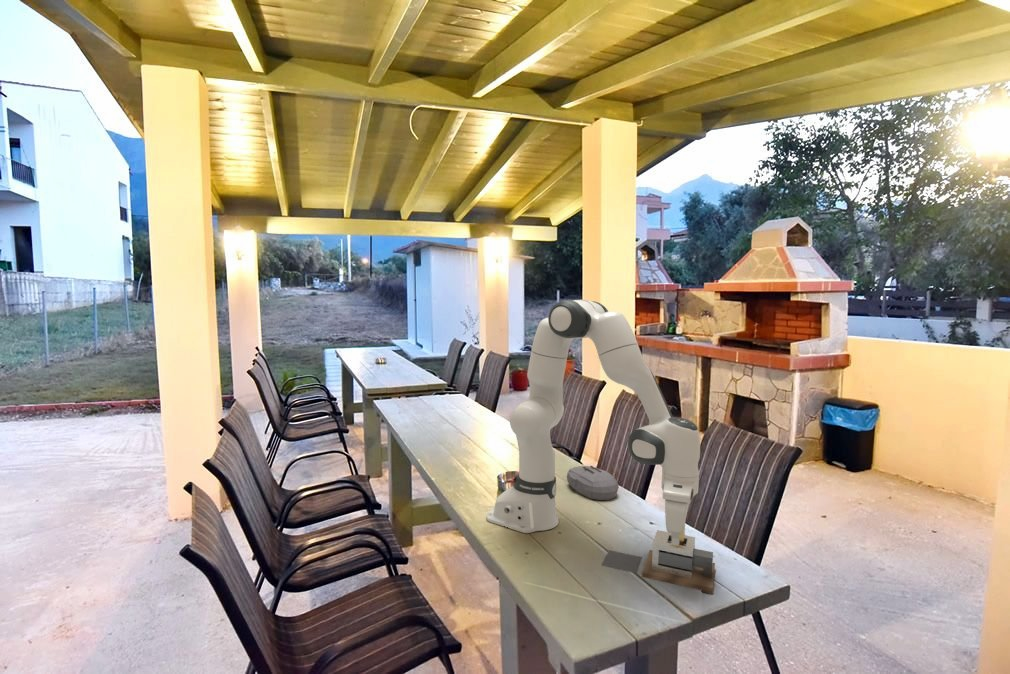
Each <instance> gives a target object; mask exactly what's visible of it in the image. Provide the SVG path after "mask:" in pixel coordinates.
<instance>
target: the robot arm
mask: <svg viewBox="0 0 1010 674" xmlns="http://www.w3.org/2000/svg"><path fill="white" fill-rule="evenodd" d="M585 338H589V339H590V340H591V341H592V343H593V344H594V346H595V349H596V353H597V354H598V359H599V362H600V365H601V368H602V370H603V373H604V374H605V375H606V377H607V378H608V379H609V380H611V381H612V382H614V383H616V384H619V385H622V386H625V387H627V388H629V390H632V391H633V392H634V393H635V394H636V395H637V396H638V398H639V400H640V403H641V404H642V407H643V409H644V411H645V414H646V415H647V418H648V421H649V424H648V425H644V426H641V427H639V428H636V429H634V430H633V431H632V432H630V434H629V436H628V439H627V449H628V452H629V454H630V456H631V457H632V458H633V460H634V461H636V462H637V463H639V464H642V465H651V466H652V465H653V466H656V465H657V466H661V486H660V487H661V489H662V499H663V500H664V514H665V515H664V517H665V518H664V519H665V528H666V532H670V533H671V537H672V542H671V543H672V545H676V546H678V545H679V542H680V534H682V532H683V528H684V523H685V524H686V519H687V515H688V509H689V505H690V504H691V502H692V500H693V498H694V497H695V496H697V495H698V493H699V484H700V483H699V481H700V471H699V461H700V459H701V437H700V436H701V435H700V431H699V427H698V426H697V424H695V423H694V422H693V421H692V420H689V419H686V418H683V417H677V416H675V417H674V415H673V414H672V412H671V410H670V408H669V407H670V406H668V403H667V401H666V399H665V396H664V394H663V392H662V389H661V388H660V386H659V384H658V381H657V379H656V377H655V375H654V374H653V372H652V369H650V368H649V365H647V362H646V361H645V358H644V356H643V354H642V351H641V349H640V347H639V343H638V340H637V337H636V336H635V333H634V331H633V329H632V327H631V325H630V324H629V321H628V320H627V318H626V317H625V315H624V314H623V313H621V312H619V311H614V310H613V311H612V310H611V311H610V310H609V309H608V308H606V306H604V304H601V303H600V302H598V301H594V300H593V301H592V300H587V299H574V300H572V299H566V300H561V301H558V302H557V303H555V304H554V305H553V306H552V307H551V309H550V310H549V312H548V317H546V318H543V319H542V320H540V322H539V324H538V325H537V329H536V331H535V334H534V339H533V342H532V344H531V345H532V346H531V351H530V357H529V363H528V366H527V367H528V368H527V373H526V376H527V379H528V383H529V397H528V398H527V400H525V401H522V402H521V403H519V404H518V405H517V406H516V407H515V408H514V410H513V411H511V414H510V417H509V424H510V429H511V430H512V432H513V433H514V434H515V436H516V437H515V438H516V441H517V446H518V455H519V456H518V472H517V473H516V474H515V475H514V476H513V478H512V479H511V484H512V486H510V487H509V488H507V489H506V490H504V491H503V492H502V493H500V494H499V495H498V497H497V498H496V499H495V502H494V506H493V507H492V508H491V509H490V510H489V511H488V512H487V515H486V521H487V522H489V523H493V524H496V525H498V526H502V527H504V526H505V528H507V527H508V529H511V530H515V531H516V532H520V533H524V534H529V533H534V532H539V531H540V532H541V531H547V530H551V529H554V528H556V527H557V526H558V525H559V522H560V520H559V516H558V512H557V507H556V494H557V477H556V476H555V475H556V473H555V472H556V452H555V450H554V448H553V444H552V439H551V430H552V429H553V428H555V426H557V425H558V424H559V423H560V421H561V419H562V417H563V416H564V411H565V406H564V403H563V402H564V399H563V398H564V397H563V395H564V392H563V391H564V389H563V386H564V379H565V372H566V367H567V362H568V355H569V350H570V347H571V346H570V345H571V343H572V342H573V341H574V339H578V340H579V339H581V340H582V339H585Z"/></svg>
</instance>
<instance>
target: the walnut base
mask: <svg viewBox="0 0 1010 674" xmlns="http://www.w3.org/2000/svg"><path fill="white" fill-rule="evenodd" d="M652 551H653V549H649V551H648V554H647V557H646V559H645V563H644V565H643V569H642V572H641V577H642V578H647V579H652V580H656V581H659V582H664V583H670V584H674V585H678V586H680V587H681V586H682V587H686V588H691V589H695V590H699V591H701V592H702V593H704V592H705V593H704V594H709V595H714V581H715V569H716V568H715V567H716V563H715V562H713V565H712V578H709V577H704V576H703V568H699V567H694V566H693V572H692V578H688V577H683V576H679V575H674V574H670V573H665V572H660V571H656V570H652ZM701 592H700V593H701Z"/></svg>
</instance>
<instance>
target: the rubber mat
mask: <svg viewBox="0 0 1010 674" xmlns="http://www.w3.org/2000/svg"><path fill="white" fill-rule="evenodd" d="M642 559H643V556H639V555H635V554H629V553H625V552H620V551H615V550H611V549H608V551H607V553H606V555H605V557H604V559H603V561H602V563H601V566H603V567H607V568H611V569H615V570H621V571H626V572H629V573H633V574H637V573H638V571H639V567H640V565H641V562H642Z"/></svg>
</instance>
